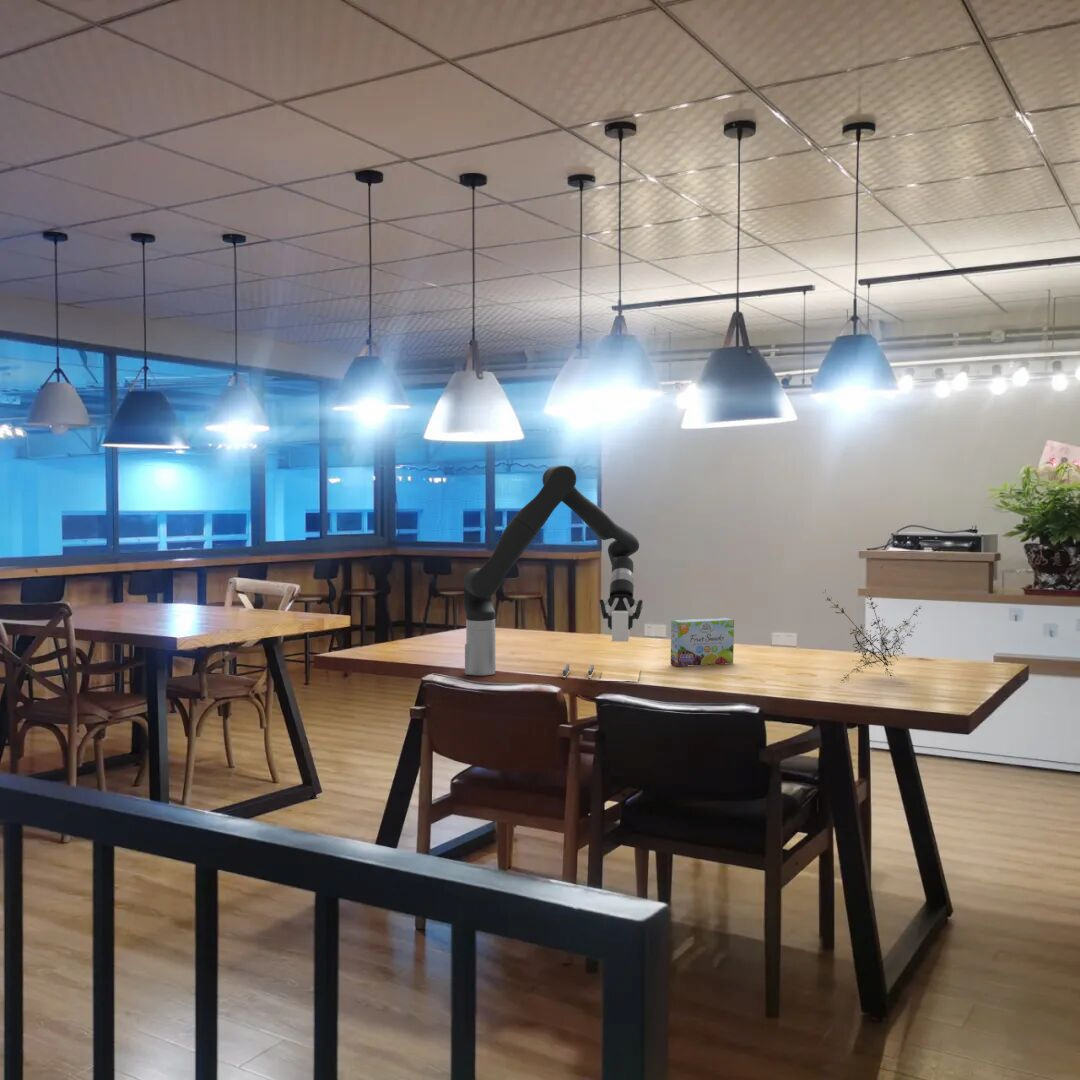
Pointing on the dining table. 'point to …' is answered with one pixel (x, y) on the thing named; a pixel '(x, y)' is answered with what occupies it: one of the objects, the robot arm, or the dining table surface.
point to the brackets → (568, 670)
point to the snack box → (702, 641)
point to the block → (620, 626)
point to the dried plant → (875, 640)
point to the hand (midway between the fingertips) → (620, 627)
